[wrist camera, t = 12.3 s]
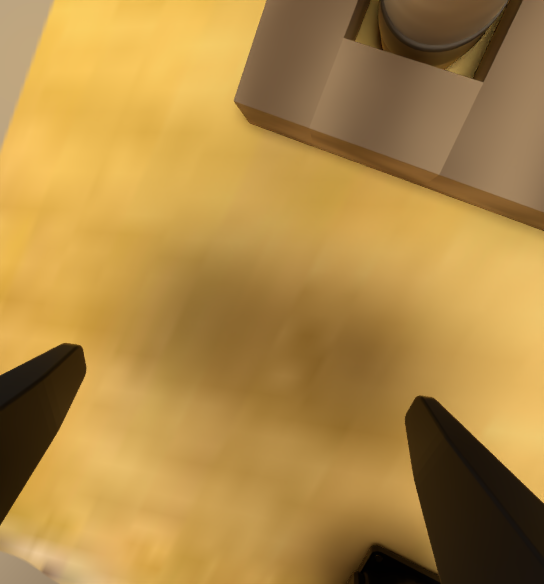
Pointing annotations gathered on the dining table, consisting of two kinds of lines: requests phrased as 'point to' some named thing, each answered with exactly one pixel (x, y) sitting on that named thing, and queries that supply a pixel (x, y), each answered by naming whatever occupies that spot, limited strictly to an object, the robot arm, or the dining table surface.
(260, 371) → the dining table surface
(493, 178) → the board
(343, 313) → the dining table surface
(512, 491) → the robot arm
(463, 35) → the peg
